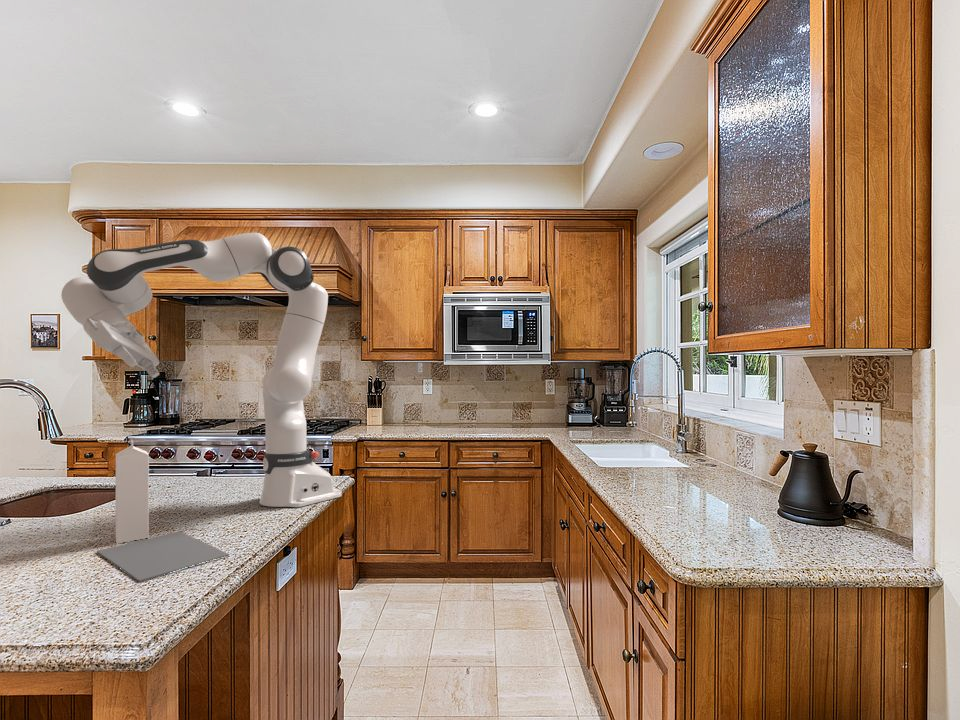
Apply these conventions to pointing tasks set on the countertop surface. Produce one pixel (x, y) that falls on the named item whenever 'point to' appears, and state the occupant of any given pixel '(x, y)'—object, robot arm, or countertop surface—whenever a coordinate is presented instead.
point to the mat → (160, 555)
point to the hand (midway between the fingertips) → (145, 370)
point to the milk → (132, 494)
